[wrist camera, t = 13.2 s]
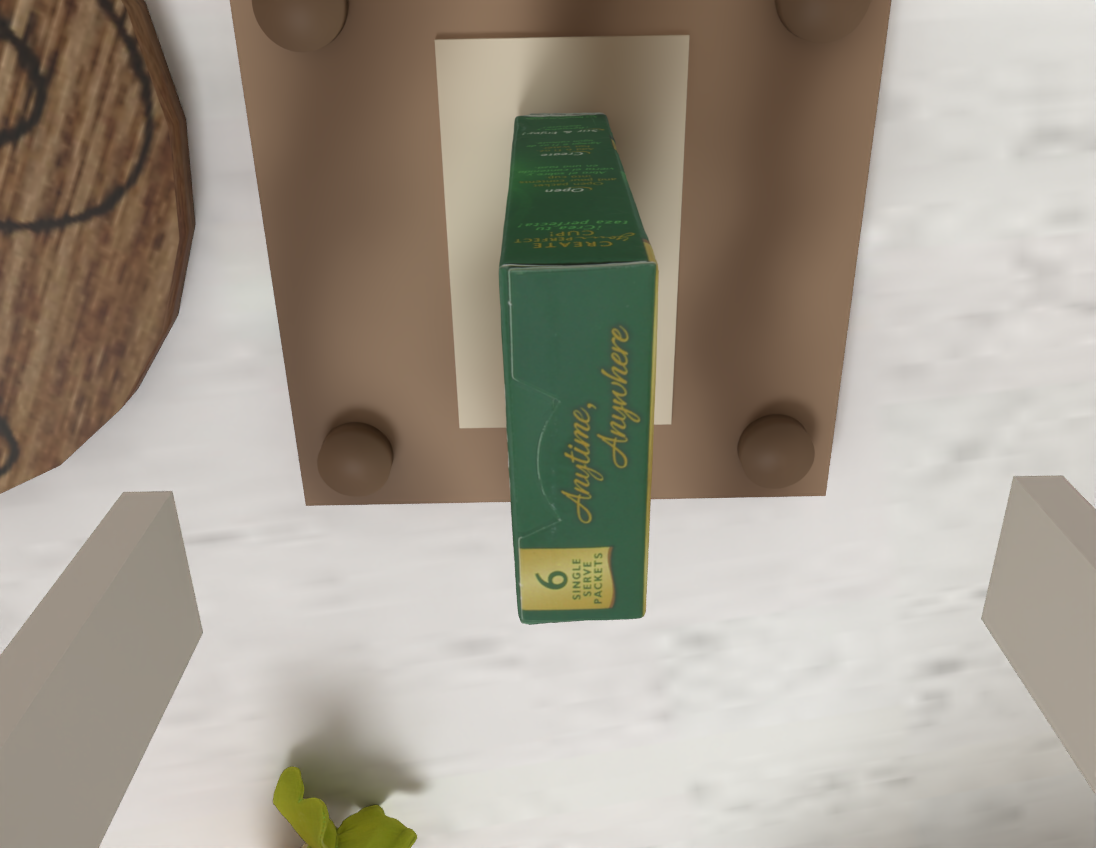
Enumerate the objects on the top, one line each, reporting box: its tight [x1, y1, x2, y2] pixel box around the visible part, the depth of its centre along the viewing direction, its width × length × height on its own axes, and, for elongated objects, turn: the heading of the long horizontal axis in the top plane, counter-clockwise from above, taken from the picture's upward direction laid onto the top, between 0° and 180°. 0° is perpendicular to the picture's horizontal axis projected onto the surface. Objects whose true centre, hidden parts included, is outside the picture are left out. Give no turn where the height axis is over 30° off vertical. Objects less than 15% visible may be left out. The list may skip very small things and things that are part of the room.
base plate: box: [230, 0, 891, 506], centre depth 30 cm, size 18×18×3 cm
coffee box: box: [499, 113, 659, 625], centre depth 24 cm, size 8×3×13 cm, turn 1°
